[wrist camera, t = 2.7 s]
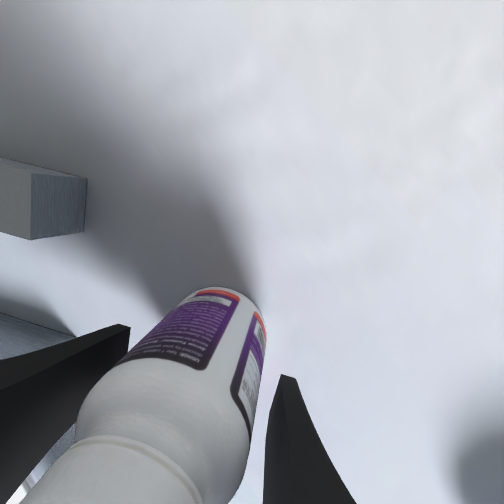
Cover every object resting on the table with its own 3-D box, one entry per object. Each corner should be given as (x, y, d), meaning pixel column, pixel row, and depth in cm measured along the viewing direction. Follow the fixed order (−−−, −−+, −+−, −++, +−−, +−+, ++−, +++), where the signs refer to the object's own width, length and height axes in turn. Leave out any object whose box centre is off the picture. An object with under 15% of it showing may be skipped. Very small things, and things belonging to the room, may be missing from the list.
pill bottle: (159, 331, 15) (-69, 561, 5) (210, 265, 13) (22, 417, 4) (230, 387, 15) (126, 711, 5) (288, 326, 13) (282, 619, 4)
